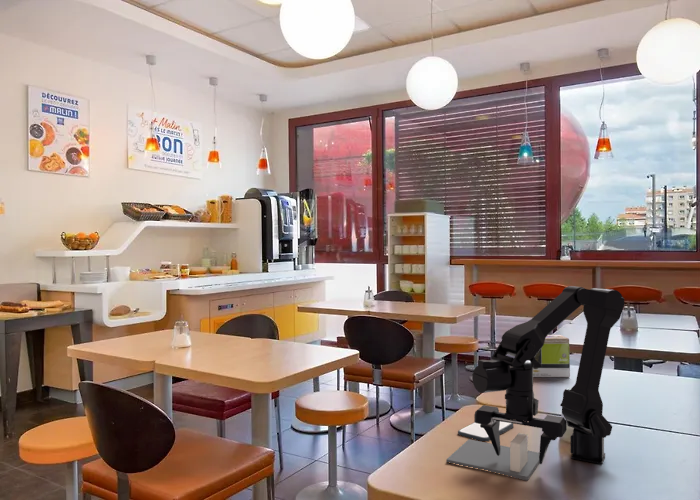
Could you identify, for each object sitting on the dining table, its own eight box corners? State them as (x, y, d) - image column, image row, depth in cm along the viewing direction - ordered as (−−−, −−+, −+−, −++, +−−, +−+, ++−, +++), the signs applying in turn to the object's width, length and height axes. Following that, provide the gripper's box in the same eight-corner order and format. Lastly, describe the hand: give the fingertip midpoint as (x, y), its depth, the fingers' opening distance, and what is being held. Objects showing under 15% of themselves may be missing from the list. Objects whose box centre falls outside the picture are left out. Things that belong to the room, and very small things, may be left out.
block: (518, 459, 123) (518, 432, 123) (527, 461, 122) (527, 434, 122) (510, 470, 117) (510, 442, 117) (519, 472, 116) (519, 444, 116)
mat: (543, 456, 127) (543, 453, 127) (527, 480, 114) (527, 476, 114) (468, 442, 136) (468, 439, 136) (446, 462, 123) (446, 459, 123)
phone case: (486, 445, 136) (515, 428, 148) (486, 438, 136) (515, 422, 148) (455, 437, 142) (486, 421, 154) (455, 430, 142) (485, 415, 154)
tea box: (562, 372, 211) (562, 334, 211) (570, 378, 201) (570, 338, 201) (522, 371, 213) (522, 333, 213) (528, 377, 203) (528, 337, 203)
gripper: (571, 385, 122) (571, 455, 122) (488, 375, 131) (488, 440, 131) (561, 397, 112) (561, 473, 112) (473, 385, 122) (473, 455, 122)
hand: (519, 459), depth 120 cm, fingers open, 9 cm apart
